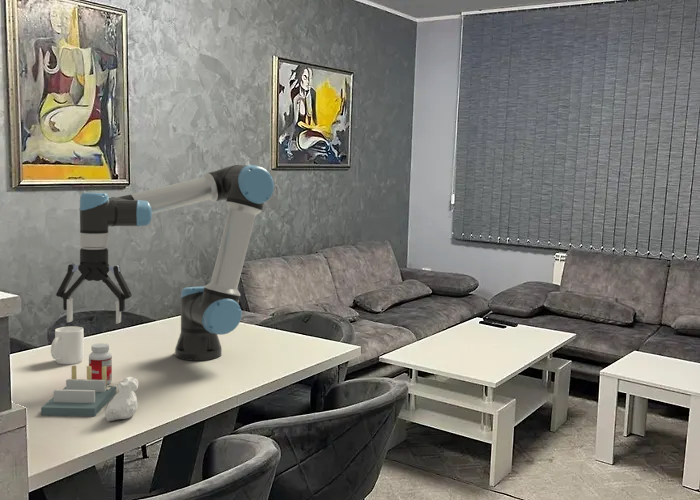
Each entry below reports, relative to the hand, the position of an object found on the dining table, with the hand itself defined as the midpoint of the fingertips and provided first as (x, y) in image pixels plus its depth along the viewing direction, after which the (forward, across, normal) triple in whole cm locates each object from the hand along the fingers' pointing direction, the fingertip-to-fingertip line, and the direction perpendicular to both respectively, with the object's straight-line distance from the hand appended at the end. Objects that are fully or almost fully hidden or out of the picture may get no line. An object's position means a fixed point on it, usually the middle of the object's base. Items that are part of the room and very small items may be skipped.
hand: (94, 322), depth 199 cm
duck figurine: (+18, -16, +29) cm, 37 cm away
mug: (+18, +14, -19) cm, 30 cm away
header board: (+17, -2, +19) cm, 26 cm away
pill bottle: (+18, -2, +1) cm, 18 cm away
